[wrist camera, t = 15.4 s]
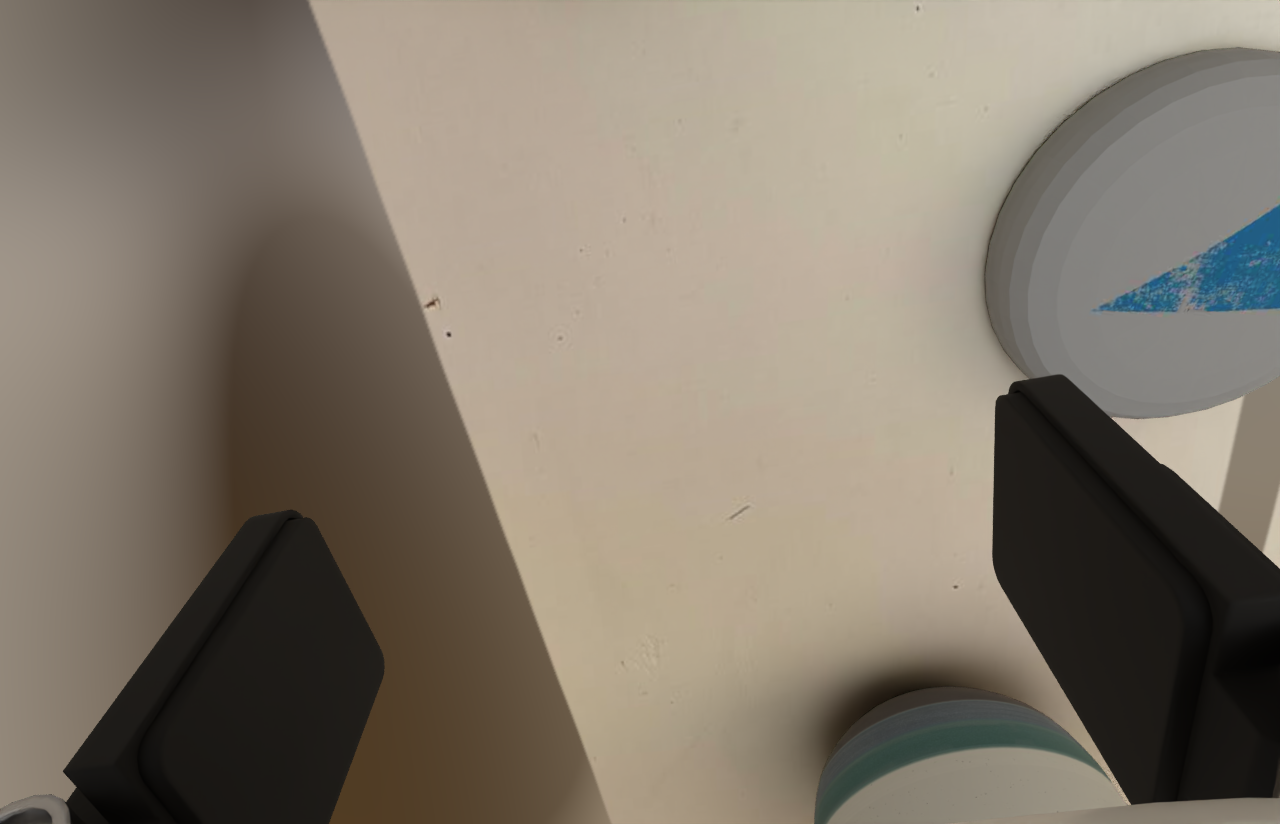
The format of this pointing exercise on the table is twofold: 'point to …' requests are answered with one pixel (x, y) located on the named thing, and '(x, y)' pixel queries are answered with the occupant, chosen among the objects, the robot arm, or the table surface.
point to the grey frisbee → (1150, 240)
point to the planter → (957, 763)
